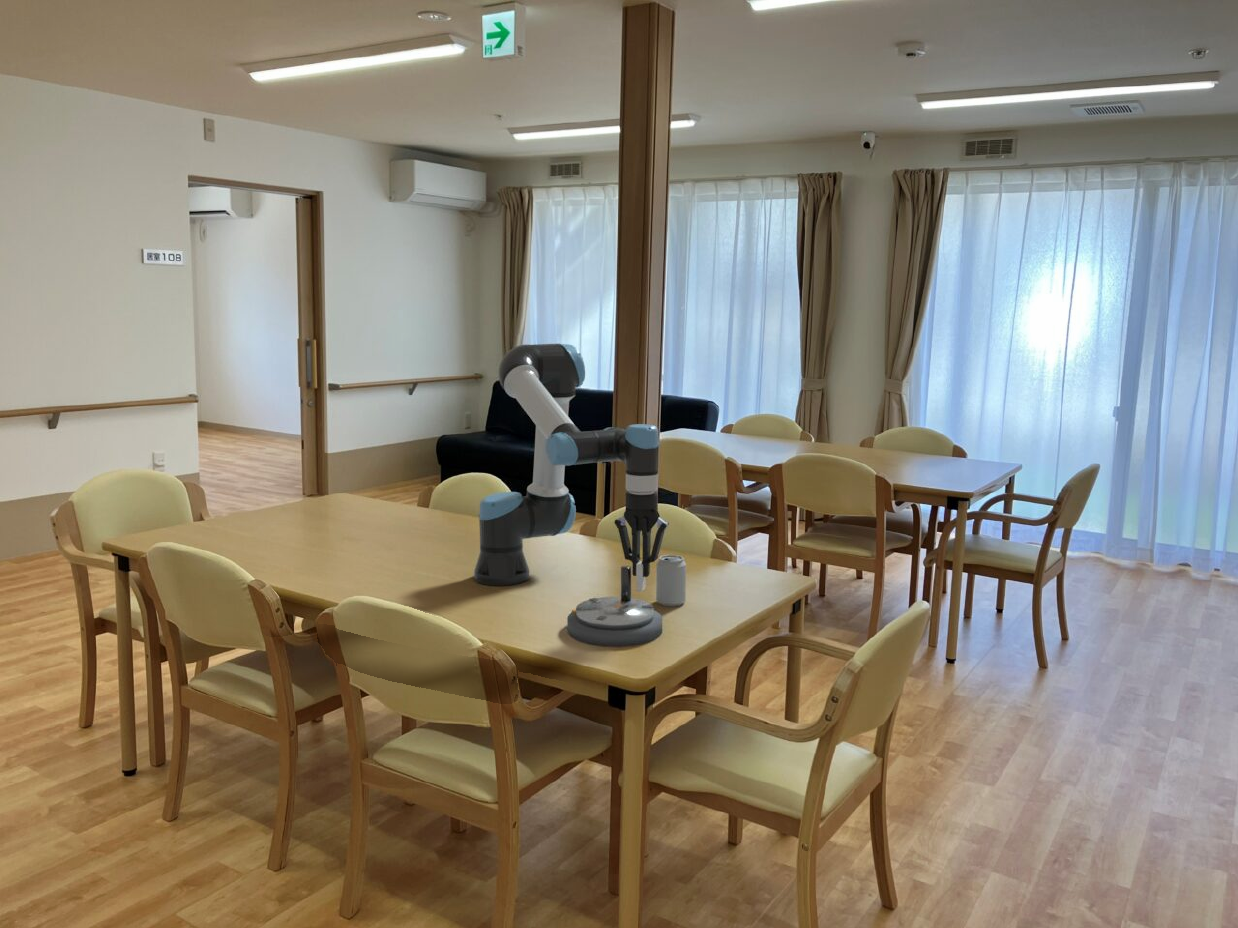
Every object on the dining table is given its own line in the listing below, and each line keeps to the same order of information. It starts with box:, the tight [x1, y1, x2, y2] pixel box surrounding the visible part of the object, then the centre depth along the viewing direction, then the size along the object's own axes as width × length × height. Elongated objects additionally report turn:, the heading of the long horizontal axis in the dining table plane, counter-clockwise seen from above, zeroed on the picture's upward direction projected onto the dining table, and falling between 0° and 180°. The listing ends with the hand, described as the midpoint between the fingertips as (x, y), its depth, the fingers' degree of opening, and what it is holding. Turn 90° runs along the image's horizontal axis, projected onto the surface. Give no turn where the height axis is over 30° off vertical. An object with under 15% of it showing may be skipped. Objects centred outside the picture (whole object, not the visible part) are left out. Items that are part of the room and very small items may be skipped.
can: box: [655, 554, 687, 607], centre depth 245 cm, size 8×8×12 cm
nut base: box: [566, 608, 663, 648], centre depth 224 cm, size 22×22×4 cm
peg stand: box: [575, 565, 655, 629], centre depth 223 cm, size 18×18×10 cm
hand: (640, 589), depth 228 cm, fingers closed
